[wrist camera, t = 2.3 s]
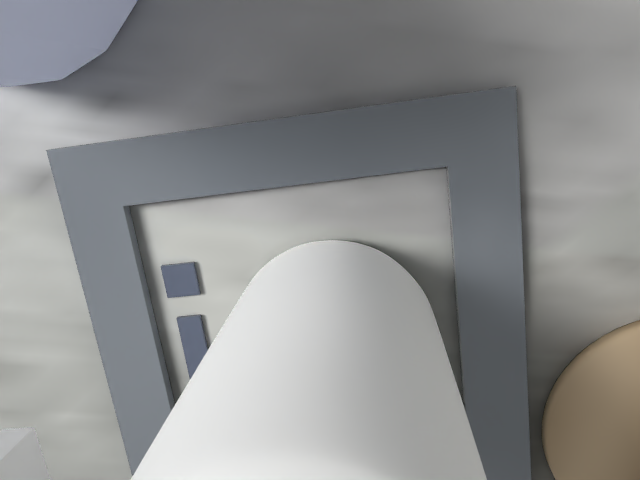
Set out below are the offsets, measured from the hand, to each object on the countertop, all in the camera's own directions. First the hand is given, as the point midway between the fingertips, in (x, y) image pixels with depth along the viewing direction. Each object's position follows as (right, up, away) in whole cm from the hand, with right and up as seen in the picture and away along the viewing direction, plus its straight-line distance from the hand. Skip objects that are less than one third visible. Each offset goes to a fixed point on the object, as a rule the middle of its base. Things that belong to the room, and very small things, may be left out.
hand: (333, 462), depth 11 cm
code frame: (-1, +2, +6) cm, 7 cm away
